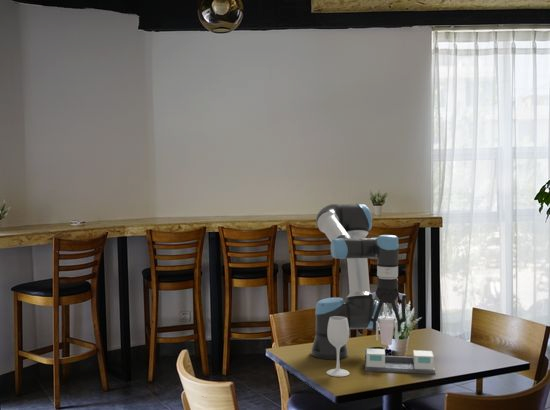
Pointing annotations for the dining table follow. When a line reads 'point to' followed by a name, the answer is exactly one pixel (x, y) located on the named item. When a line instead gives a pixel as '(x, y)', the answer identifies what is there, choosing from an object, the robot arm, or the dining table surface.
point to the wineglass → (338, 340)
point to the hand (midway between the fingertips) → (386, 339)
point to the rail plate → (399, 366)
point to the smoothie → (386, 328)
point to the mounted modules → (419, 359)
